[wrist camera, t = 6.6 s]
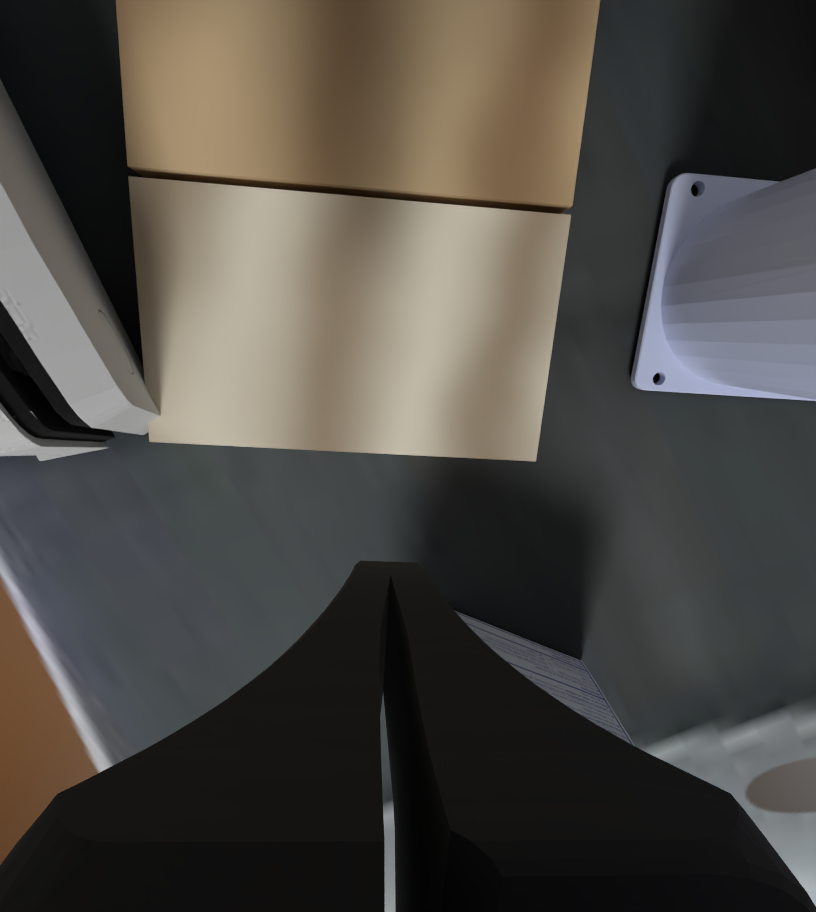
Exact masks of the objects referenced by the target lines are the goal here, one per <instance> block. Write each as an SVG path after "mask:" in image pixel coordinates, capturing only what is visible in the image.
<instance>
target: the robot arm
mask: <svg viewBox="0 0 816 912" xmlns="http://www.w3.org/2000/svg"><path fill="white" fill-rule="evenodd" d="M693 184H694V185H696V187H697V188H698V193H697V195H696V197H695V196H693V195H692V193H691V187H692V185H693ZM656 373H659V375H660V379H659V381H658V382H657V383H656V384H654V383H653V377H654V375H655V374H656ZM631 382H632V384H633V386H634V387H635V388H638V389H641V390H650V391H666V392H682V393H698V394H714V395H730V396H746V397H762V398H778V399H795V400H811V401H816V168H815V169H813V170H810V171H807V172H805V173H802V174H800V175H797V176H794V177H792V178H789V179H786V180H784V181H781V182H778V181H767V180H757V179H746V178H736V177H725V176H715V175H704V174H694V173H682V174H680V175H678V176H676V177H675V178H673V179H672V180H671V181H670V182H669V184H668V186H667V189H666V194H665V200H664V205H663V210H662V215H661V221H660V226H659V231H658V237H657V242H656V247H655V253H654V258H653V263H652V269H651V274H650V279H649V284H648V290H647V295H646V300H645V306H644V311H643V316H642V322H641V327H640V332H639V337H638V343H637V348H636V353H635V359H634V364H633V369H632V375H631ZM383 693H384V705H385V716H386V727H387V738H388V749H389V759H390V770H391V781H392V792H393V803H394V822H395V886H396V912H816V907H815V905H814V903H813V902H812V900H811V898H810V897H809V895H808V894H807V892H806V891H805V889H804V888H803V887H802V885H801V884H800V883H799V881H798V880H797V879H796V877H795V876H794V875H793V873H792V872H791V871H790V870H789V868H788V867H787V866H786V864H785V863H784V862H783V860H782V859H781V858H780V856H779V855H778V854H777V852H776V851H775V850H774V848H773V847H772V846H771V844H770V843H769V842H768V840H767V839H766V838H765V836H764V835H763V834H762V832H761V831H760V830H759V829H758V827H757V826H756V825H755V823H754V822H753V821H752V819H751V818H750V817H749V816H748V814H747V813H746V812H745V810H744V809H743V808H742V807H741V806H740V804H739V803H738V802H737V801H736V800H735V798H734V797H733V796H732V795H731V794H730V793H728V792H726V791H724V790H722V789H720V788H718V787H716V786H714V785H712V784H710V783H708V782H706V781H704V780H702V779H699V778H697V777H695V776H693V775H691V774H689V773H687V772H685V771H683V770H681V769H679V768H677V767H675V766H673V765H671V764H669V763H667V762H665V761H663V760H661V759H658V758H656V757H654V756H652V755H650V754H648V753H646V752H644V751H642V750H641V749H639V748H637V747H635V746H633V745H632V744H630V743H628V742H626V741H625V740H623V739H621V738H619V737H617V736H616V735H614V734H612V733H610V732H609V731H607V730H605V729H603V728H602V727H600V726H598V725H596V724H595V723H593V722H592V721H590V720H588V719H587V718H585V717H584V716H582V715H580V714H579V713H577V712H575V711H574V710H572V709H571V708H569V707H568V706H566V705H565V704H563V703H562V702H560V701H559V700H557V699H556V698H555V697H553V696H552V695H550V694H549V693H547V692H546V691H544V690H543V689H542V688H540V687H539V686H537V685H536V684H534V683H533V682H532V681H530V680H529V679H528V678H526V677H525V676H524V675H523V674H521V673H520V672H519V671H518V670H516V669H515V668H514V667H513V666H512V665H510V664H509V663H508V662H507V661H505V660H504V659H503V658H502V657H501V656H499V655H498V654H497V653H496V652H495V651H494V650H493V649H491V648H490V647H489V646H488V645H487V644H486V643H485V642H484V641H483V640H482V639H481V638H480V637H479V636H478V635H477V634H476V633H475V632H474V631H473V630H472V629H471V628H470V627H469V626H468V625H467V624H466V623H465V622H464V621H463V620H462V619H461V617H460V616H459V615H458V614H457V613H456V612H455V610H454V609H453V608H452V607H451V606H450V605H449V603H448V602H447V601H446V600H445V598H444V597H443V596H442V595H441V593H440V592H439V591H438V589H437V588H436V587H435V586H434V584H433V583H432V581H431V580H430V579H429V577H428V576H427V575H426V573H425V572H424V570H423V569H422V568H421V566H420V565H419V564H418V563H408V562H380V561H360V562H358V563H357V564H356V565H355V566H354V569H353V571H352V573H351V574H350V576H349V578H348V579H347V581H346V582H345V584H344V585H343V587H342V588H341V590H340V591H339V592H338V594H337V595H336V596H335V598H334V599H333V600H332V602H331V603H330V604H329V606H328V607H327V608H326V609H325V611H324V612H323V613H322V614H321V615H320V616H319V618H318V619H317V620H316V621H315V622H314V623H313V624H312V625H311V626H310V628H309V629H308V630H307V631H306V632H305V633H304V634H303V635H302V636H301V637H300V638H299V639H298V640H297V641H296V642H295V643H294V644H293V645H292V646H291V647H290V648H289V649H288V650H287V651H286V652H285V653H284V654H283V655H282V656H281V657H280V658H278V659H277V660H276V661H275V662H274V663H273V664H272V665H271V666H269V667H268V668H267V669H266V670H265V671H263V672H262V673H261V674H260V675H258V676H257V677H256V678H255V679H253V680H252V681H251V682H249V683H248V684H247V685H245V686H244V687H243V688H241V689H240V690H239V691H237V692H236V693H235V694H233V695H232V696H231V697H229V698H228V699H227V700H225V701H224V702H222V703H221V704H219V705H218V706H216V707H215V708H213V709H212V710H210V711H208V712H207V713H205V714H204V715H202V716H201V717H199V718H198V719H196V720H194V721H193V722H191V723H189V724H188V725H186V726H184V727H183V728H181V729H179V730H178V731H176V732H174V733H173V734H171V735H169V736H168V737H166V738H164V739H163V740H161V741H159V742H157V743H156V744H154V745H152V746H150V747H148V748H147V749H145V750H143V751H141V752H139V753H137V754H135V755H133V756H131V757H129V758H127V759H125V760H123V761H122V762H120V763H118V764H116V765H114V766H112V767H110V768H108V769H106V770H104V771H102V772H100V773H98V774H96V775H94V776H93V777H91V778H89V779H87V780H85V781H83V782H81V783H79V784H77V785H75V786H73V787H71V788H69V789H67V790H65V791H62V792H60V793H58V794H57V795H56V796H55V797H54V799H53V800H52V801H51V803H50V804H49V805H48V806H47V808H46V809H45V810H44V811H43V813H42V814H41V815H40V816H39V817H38V819H37V820H36V821H35V822H34V823H33V825H32V826H31V827H30V828H29V829H28V830H27V832H26V833H25V834H24V835H23V836H22V838H21V839H20V840H19V841H18V842H17V844H16V845H15V846H14V848H13V849H12V850H11V852H10V853H9V854H8V856H7V857H6V858H5V860H4V861H3V862H2V864H1V865H0V912H384V823H383V800H382V772H381V738H380V713H381V704H382V695H383Z"/></svg>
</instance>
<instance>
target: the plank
mask: <svg viewBox="0 0 816 912" xmlns="http://www.w3.org/2000/svg"><path fill="white" fill-rule="evenodd" d="M599 5H600V0H116V10H117V25H118V39H119V53H120V67H121V82H122V96H123V110H124V125H125V139H126V153H127V166H128V167H130V168H131V169H132V170H134V171H135V172H137V173H138V174H140V175H141V176H143V177H144V178H154V179H166V180H177V181H188V182H200V183H211V184H223V185H234V186H245V187H257V188H268V189H280V190H291V191H302V192H314V193H325V194H337V195H348V196H359V197H371V198H382V199H394V200H405V201H416V202H428V203H439V204H451V205H462V206H474V207H485V208H496V209H508V210H519V211H531V212H542V213H553V214H562V213H563V212H564V211H566V210H567V209H568V208H570V207H571V206H572V205H573V197H574V190H575V183H576V175H577V168H578V161H579V153H580V146H581V138H582V131H583V124H584V116H585V109H586V101H587V94H588V87H589V79H590V72H591V64H592V57H593V50H594V42H595V35H596V27H597V20H598V13H599Z"/></svg>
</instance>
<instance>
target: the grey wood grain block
mask: <svg viewBox="0 0 816 912" xmlns="http://www.w3.org/2000/svg"><path fill="white" fill-rule="evenodd" d="M455 612H456V613H457V614H458V615H459V616H460V617H461V619H462V620H463V621H464V622H465V623H466V624H467V625H468V626H469V627H470V628H471V629H472V630H473V631H474V632H475V633H476V634H477V635H478V636H479V637H480V638H481V639H482V640H483V641H484V642H485V643H486V644H487V645H488V646H489V647H490V648H491V649H493V650H494V651H495V652H496V653H497V654H498V655H499V656H501V657H502V658H503V659H504V660H505V661H507V662H508V663H509V664H510V665H512V666H513V667H514V668H515V669H516V670H518V671H519V672H520V673H521V674H523V675H524V676H525V677H526V678H528V679H529V680H530V681H532V682H533V683H534V684H536V685H537V686H539V687H540V688H542V689H543V690H544V691H546V692H547V693H549V694H550V695H552V696H553V697H555V698H556V699H557V700H559V701H560V702H562V703H563V704H565V705H566V706H568V707H569V708H571V709H572V710H574V711H575V712H577V713H579V714H580V715H582V716H584V717H585V718H587V719H588V720H590V721H592V722H593V723H595V724H596V725H598V726H600V727H602V728H603V729H605V730H607V731H609V732H610V733H612V734H614V735H616V736H617V737H619V738H621V739H623V740H625V741H626V742H628V743H630V744H632V745H633V746H635V745H634V743H633V742H632V740H631V738H630V737H629V735H628V733H627V732H626V730H625V729H624V727H623V726H622V724H621V722H620V721H619V719H618V717H617V716H616V714H615V713H614V711H613V709H612V708H611V706H610V704H609V703H608V701H607V699H606V698H605V696H604V694H603V693H602V691H601V689H600V688H599V686H598V685H597V683H596V681H595V680H594V678H593V677H592V675H591V674H590V672H589V670H588V669H587V667H586V666H585V664H584V663H583V662H582V661H581V660H578V659H576V658H573V657H570V656H568V655H565V654H563V653H560V652H558V651H555V650H553V649H550V648H548V647H545V646H543V645H540V644H538V643H535V642H532V641H530V640H527V639H525V638H522V637H520V636H517V635H515V634H512V633H510V632H507V631H505V630H502V629H500V628H497V627H495V626H492V625H490V624H487V623H485V622H482V621H480V620H477V619H474V618H472V617H469V616H467V615H464V614H462V613H459V612H457V611H455ZM635 747H636V746H635Z"/></svg>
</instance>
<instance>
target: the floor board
mask: <svg viewBox="0 0 816 912" xmlns="http://www.w3.org/2000/svg"><path fill="white" fill-rule="evenodd" d="M128 180H129V192H130V205H131V217H132V230H133V242H134V255H135V267H136V280H137V292H138V305H139V317H140V330H141V342H142V355H143V367H144V379H145V385H146V387H147V389H148V391H149V393H150V395H151V397H152V399H153V401H154V403H155V405H156V407H157V409H158V411H159V413H160V415H161V416H160V417H158V418H157V419H155V420H154V421H152V422H151V423H149V424H148V429H149V442H164V443H184V444H203V445H223V446H243V447H262V448H282V449H302V450H321V451H341V452H361V453H380V454H400V455H420V456H439V457H459V458H479V459H498V460H518V461H536V457H537V450H538V443H539V436H540V429H541V422H542V415H543V408H544V401H545V394H546V387H547V380H548V373H549V366H550V359H551V352H552V345H553V338H554V331H555V324H556V317H557V310H558V303H559V296H560V289H561V282H562V275H563V268H564V261H565V254H566V247H567V240H568V233H569V226H570V219H571V215H565V214H553V213H542V212H531V211H519V210H508V209H496V208H485V207H474V206H462V205H451V204H439V203H428V202H416V201H405V200H394V199H382V198H371V197H359V196H348V195H337V194H325V193H314V192H302V191H291V190H280V189H268V188H257V187H245V186H234V185H223V184H211V183H200V182H188V181H177V180H166V179H154V178H143V177H131V176H128Z"/></svg>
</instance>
